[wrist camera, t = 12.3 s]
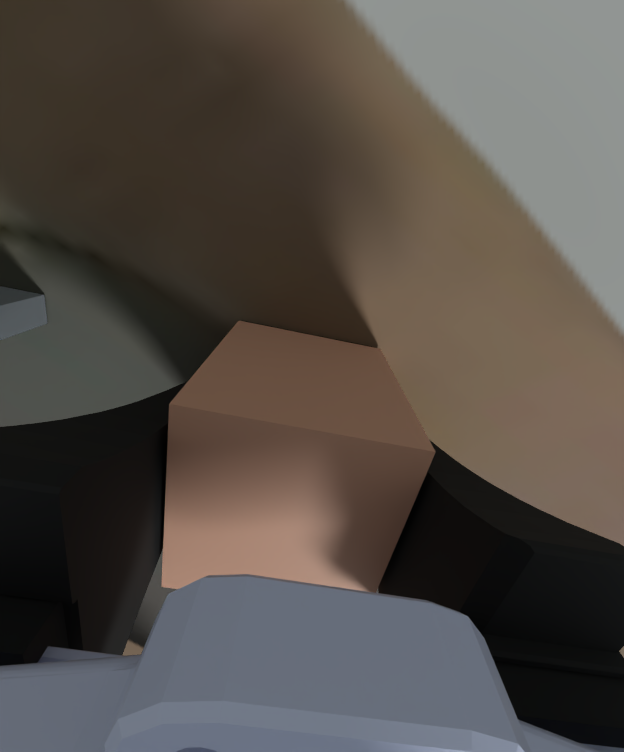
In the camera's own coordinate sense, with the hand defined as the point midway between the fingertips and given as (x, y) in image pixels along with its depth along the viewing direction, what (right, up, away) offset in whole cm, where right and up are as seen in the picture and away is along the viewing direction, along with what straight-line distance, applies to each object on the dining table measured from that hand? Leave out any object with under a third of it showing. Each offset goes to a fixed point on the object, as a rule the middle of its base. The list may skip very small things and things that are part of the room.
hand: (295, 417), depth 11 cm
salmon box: (0, +1, +1) cm, 1 cm away
